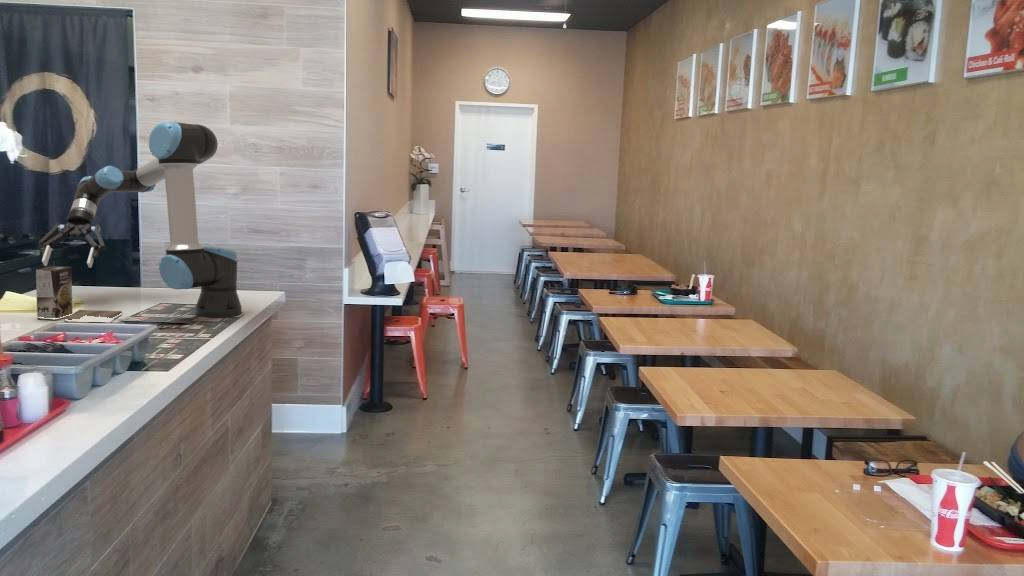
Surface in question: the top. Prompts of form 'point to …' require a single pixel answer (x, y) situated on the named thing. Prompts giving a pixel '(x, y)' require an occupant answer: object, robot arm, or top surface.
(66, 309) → the coffee box
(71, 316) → the walnut board
